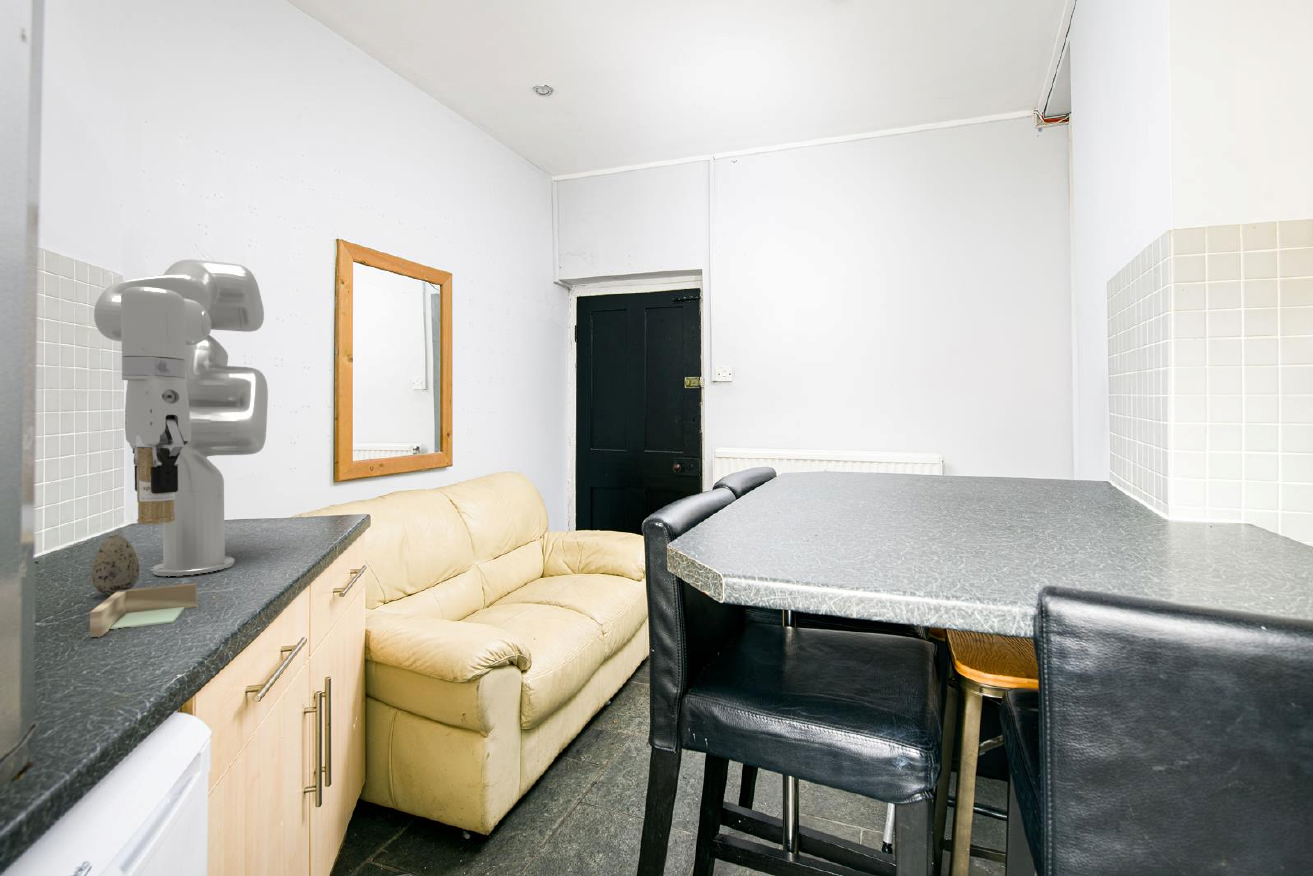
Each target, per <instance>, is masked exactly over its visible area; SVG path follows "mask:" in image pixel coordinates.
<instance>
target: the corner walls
mask: <svg viewBox="0 0 1313 876" xmlns="http://www.w3.org/2000/svg"><path fill="white" fill-rule="evenodd" d="M197 605H198V583H197V582H195V583H193V582H192V583H184V584H183V583H182V584H172V585H162V586H152V587H151V586H150V587H139V588H131V589H128V590H118V591H117V592H115V593H114V594H113V595H109V597H108V598H107V599H105V600H104V601H103V602H101V603H100V604H99V605H97V606H96V607H95V608H94V609H93V610H91V611H89V638H90V637H98V636H102V637H103V635H104V634H105V633H106V632H107V633H108V632H109V631H110V630H109V629H110V628H111V627H112V626H113V625H114V624H115V623H116V622H117V621H118V620H119V619H121V618H122V617H123V616H124V615H125V614H126V613H133V612H142V611H152V610H161V609H170V608H179V607H185V609H190V608H196V607H197ZM107 633H106V634H107ZM106 634H105V635H106ZM105 635H104V636H105ZM98 638H99V637H98Z"/></svg>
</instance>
